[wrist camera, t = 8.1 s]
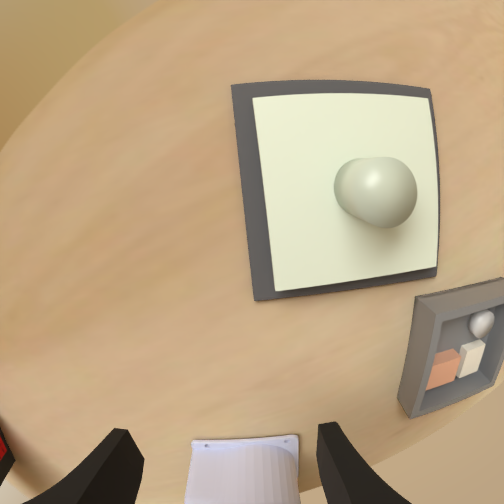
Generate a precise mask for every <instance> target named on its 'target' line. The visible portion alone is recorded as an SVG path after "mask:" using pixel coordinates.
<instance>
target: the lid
mask: <svg viewBox="0 0 504 504" xmlns="http://www.w3.org/2000/svg"><path fill="white" fill-rule="evenodd" d="M252 101H253V109H254V116H255V124H256V132H257V139H258V147H259V155H260V163H261V172H262V180H263V188H264V196H265V205H266V214H267V222H268V231H269V240H270V249H271V258H272V268H273V277H274V286H275V291H283V290H290V289H298V288H305V287H313V286H320V285H327V284H334V283H341V282H347V281H354V280H360V279H367V278H373V277H379V276H385V275H391V274H397V273H403V272H409V271H414V270H420V269H425V268H431V267H436V263H437V245H438V186H437V168H436V155H435V145H434V136H433V128H432V120H431V113H430V107H429V101H428V98H420V97H410V96H399V95H384V94H360V93H319V94H295V95H280V96H267V97H257V98H253V99H252Z"/></svg>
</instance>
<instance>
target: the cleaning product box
mask: <svg viewBox="0 0 504 504" xmlns="http://www.w3.org/2000/svg"><path fill="white" fill-rule="evenodd" d="M15 461H16V460H15V458H14V456H13V454H12V452H11V450H10V448H9V446H8V444H7V442H6V440H5V437H4V435H3V433H2V430H1V428H0V486H1V484H2V482H3V481H4V479H5V477H6V475H7V474H8V472H9V470H10V469H11V467H12V465H13V464H14V462H15Z"/></svg>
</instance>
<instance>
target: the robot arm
mask: <svg viewBox="0 0 504 504" xmlns="http://www.w3.org/2000/svg"><path fill="white" fill-rule="evenodd" d="M191 446H192V449H193V451H192V457H191V462H190V468H189V475H188V481H187V487H186V493H185V503H184V504H301V502H300V496H299V488H298V481H297V478H298V472H299V439H298V436H297V435H294V434H293V435H284V436H275V437H264V438H250V439H230V440H193V441H192V442H191ZM316 456H317V462H318V468H319V474H320V479H321V482H322V486H323V489H324V492H325V496H326V499H327V502H328V504H411V503H410V502H409V501H407V500H406V499H405V498H403V497H402V496H401V495H399V494H398V493H397V492H396V491H395V490H393V489H392V488H391V487H390V486H389V485H388V484H387V483H385V481H383V480H382V479H381V478H380V477H379V476H378V475H377V474H376V473H375V472H374V471H373V470H372V468H371V467H370V466H369V465H368V464H367V463H366V462H365V460H364V459H363V458H362V457H361V456H360V454H359V453H358V452H357V451H356V449H355V448H354V447H353V445H352V444H351V443H350V441H349V440H348V439H347V437H346V436H345V434H344V433H343V431H342V429H341V428H340V426H339V425H338V423H337V422H329V423H324V424H318V439H317V452H316ZM143 466H144V457H143V456H142V454H141V452H140V451H139V449H138V447H137V445H136V444H135V442H134V440H133V438H132V437H131V435H130V433H129V431H128V430H126V429H118V428H114V429H113V430H112V431H111V432H110V433H109V434H108V435H107V436H106V437H105V439H104V440H103V441H102V442H101V443H100V444H99V445H98V446H97V447H96V448H95V449H94V450H93V451H92V452H91V453H90V454H89V455H88V456H87V457H86V458H85V459H84V460H83V461H82V462H81V463H80V464H79V465H78V466H77V467H76V468H75V469H74V470H73V471H71V472H70V473H69V474H68V475H67V476H66V477H65V478H63V479H62V480H61V481H60V482H58V483H57V484H55V485H54V486H53V487H51V488H50V489H48V490H47V491H45V492H43V493H42V494H40V495H38V496H36V497H34V498H33V499H31V500H29V501H27V502H24V503H23V504H135V500H136V497H137V494H138V490H139V487H140V483H141V480H142V473H143Z"/></svg>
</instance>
